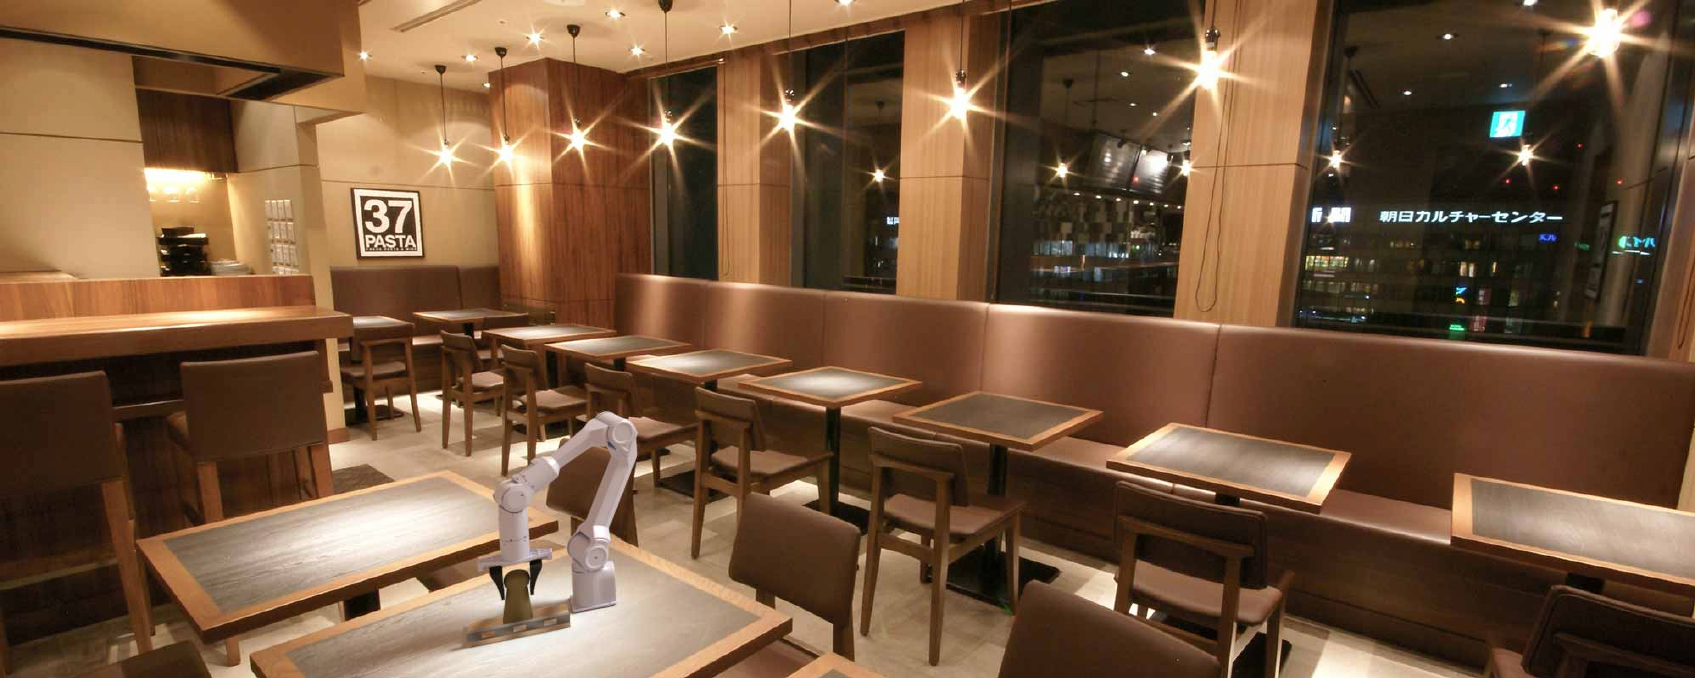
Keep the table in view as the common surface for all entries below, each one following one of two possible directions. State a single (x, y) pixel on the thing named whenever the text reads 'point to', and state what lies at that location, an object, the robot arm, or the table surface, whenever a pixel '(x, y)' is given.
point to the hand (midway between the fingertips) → (517, 595)
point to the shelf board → (517, 626)
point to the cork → (517, 597)
